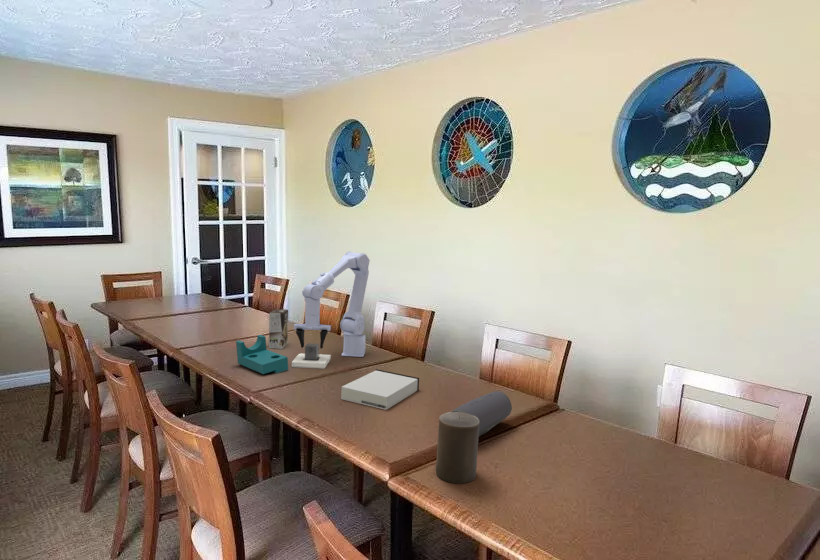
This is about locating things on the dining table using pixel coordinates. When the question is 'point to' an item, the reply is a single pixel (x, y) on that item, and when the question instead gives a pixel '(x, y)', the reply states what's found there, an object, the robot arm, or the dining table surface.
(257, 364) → the teal l-shaped bracket
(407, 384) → the disc drive
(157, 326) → the dining table surface
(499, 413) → the bluetooth speaker
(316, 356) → the plug
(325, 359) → the socket
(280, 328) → the coffee box
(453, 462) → the pillar candle
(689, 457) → the dining table surface
